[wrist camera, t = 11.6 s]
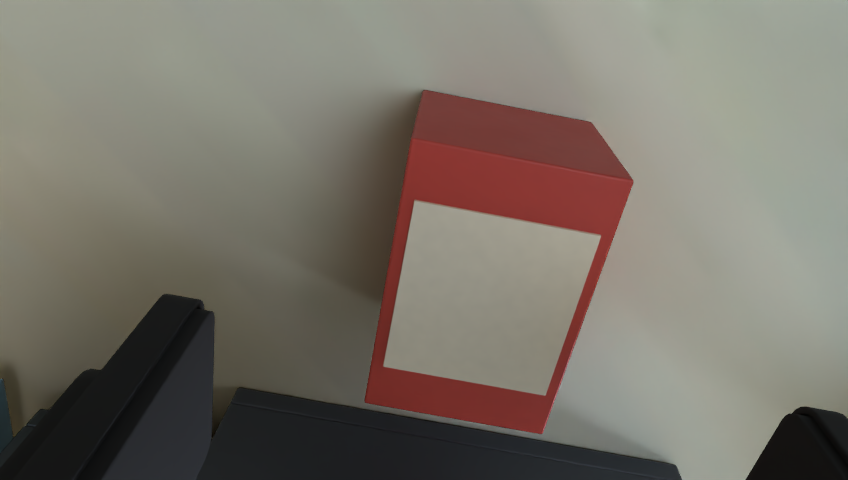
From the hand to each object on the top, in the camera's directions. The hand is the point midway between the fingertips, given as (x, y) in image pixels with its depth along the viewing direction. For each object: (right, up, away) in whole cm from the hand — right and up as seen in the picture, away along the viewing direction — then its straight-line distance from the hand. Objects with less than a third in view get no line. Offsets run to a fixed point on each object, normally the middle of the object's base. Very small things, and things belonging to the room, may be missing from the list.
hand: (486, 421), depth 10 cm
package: (+1, +3, +8) cm, 9 cm away
